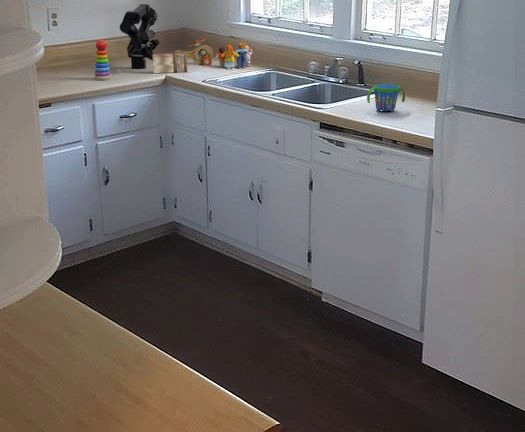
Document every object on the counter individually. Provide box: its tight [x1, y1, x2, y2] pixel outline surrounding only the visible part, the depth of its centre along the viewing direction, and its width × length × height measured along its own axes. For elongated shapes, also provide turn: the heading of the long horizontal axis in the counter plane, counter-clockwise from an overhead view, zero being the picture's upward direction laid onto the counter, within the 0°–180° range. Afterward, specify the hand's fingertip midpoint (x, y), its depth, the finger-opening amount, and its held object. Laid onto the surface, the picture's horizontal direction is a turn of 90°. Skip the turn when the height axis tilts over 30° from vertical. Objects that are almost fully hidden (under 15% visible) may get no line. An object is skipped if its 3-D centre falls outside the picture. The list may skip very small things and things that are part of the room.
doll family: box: [215, 42, 254, 71], centre depth 415 cm, size 21×10×13 cm, turn 115°
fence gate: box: [152, 52, 179, 74], centre depth 401 cm, size 12×2×9 cm, turn 105°
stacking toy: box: [93, 39, 112, 81], centre depth 388 cm, size 8×8×19 cm
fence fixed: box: [177, 53, 188, 73], centre depth 403 cm, size 4×2×9 cm, turn 105°
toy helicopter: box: [173, 38, 214, 67], centre depth 423 cm, size 8×21×14 cm, turn 97°
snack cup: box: [366, 83, 406, 111], centre depth 330 cm, size 16×10×10 cm
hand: (154, 60), depth 400 cm, fingers closed
